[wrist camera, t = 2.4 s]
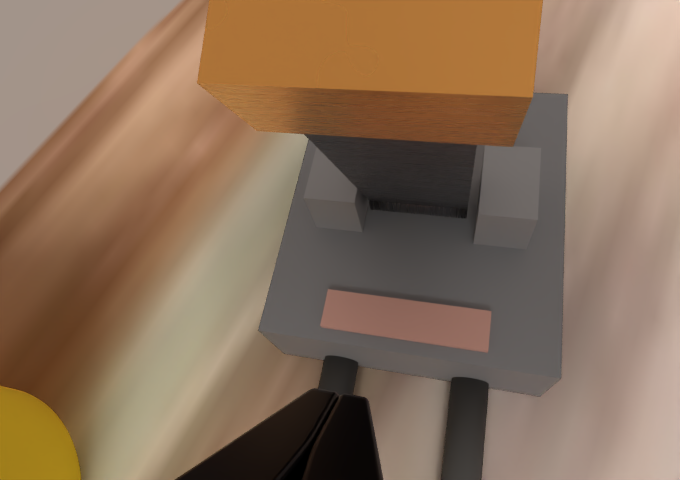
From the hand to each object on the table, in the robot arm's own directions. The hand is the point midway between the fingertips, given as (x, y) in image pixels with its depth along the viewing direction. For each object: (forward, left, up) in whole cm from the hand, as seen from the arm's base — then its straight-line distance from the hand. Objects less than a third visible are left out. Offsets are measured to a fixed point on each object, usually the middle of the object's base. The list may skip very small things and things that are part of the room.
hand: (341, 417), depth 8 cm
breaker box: (+5, +6, -11) cm, 13 cm away
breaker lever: (+5, +6, -6) cm, 10 cm away
